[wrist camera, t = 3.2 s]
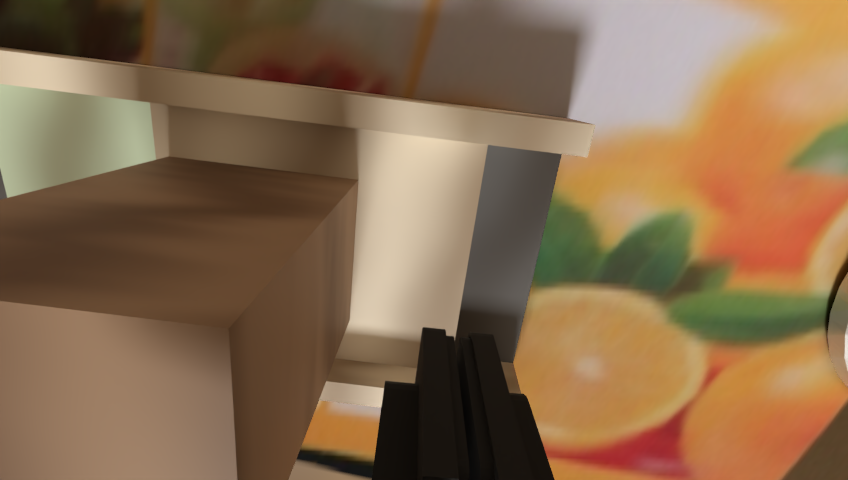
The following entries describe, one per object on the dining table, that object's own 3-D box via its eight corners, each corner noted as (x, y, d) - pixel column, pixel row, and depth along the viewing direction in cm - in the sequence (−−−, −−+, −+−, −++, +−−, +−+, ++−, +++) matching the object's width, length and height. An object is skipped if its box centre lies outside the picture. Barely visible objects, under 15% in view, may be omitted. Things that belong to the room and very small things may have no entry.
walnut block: (358, 179, 15) (228, 328, 6) (349, 320, 17) (244, 595, 8) (169, 156, 15) (-269, 268, 6) (183, 300, 17) (-122, 552, 8)
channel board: (567, 118, 16) (601, 126, 12) (507, 376, 20) (521, 433, 17) (-176, 24, 15) (-342, 7, 12) (-77, 305, 20) (-181, 349, 16)
